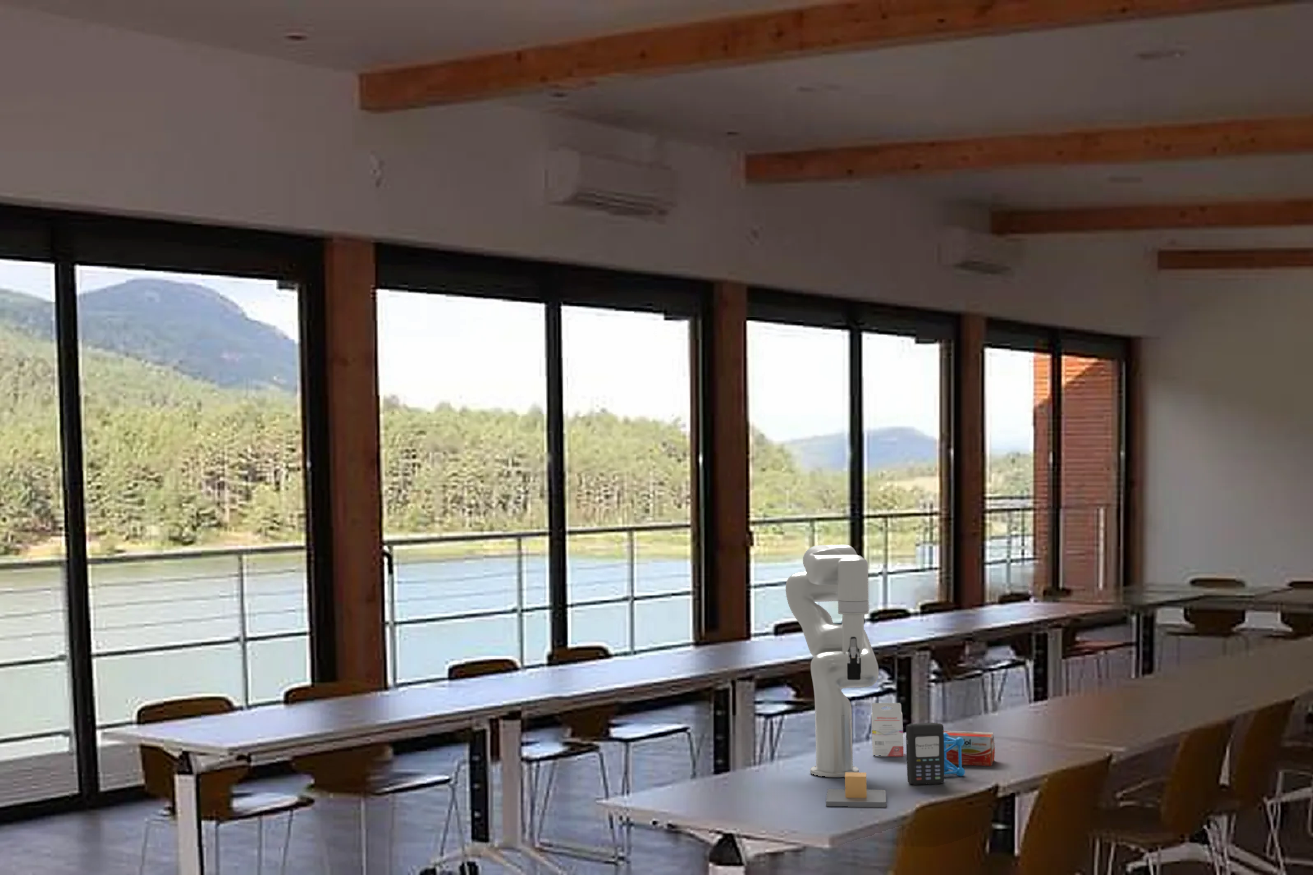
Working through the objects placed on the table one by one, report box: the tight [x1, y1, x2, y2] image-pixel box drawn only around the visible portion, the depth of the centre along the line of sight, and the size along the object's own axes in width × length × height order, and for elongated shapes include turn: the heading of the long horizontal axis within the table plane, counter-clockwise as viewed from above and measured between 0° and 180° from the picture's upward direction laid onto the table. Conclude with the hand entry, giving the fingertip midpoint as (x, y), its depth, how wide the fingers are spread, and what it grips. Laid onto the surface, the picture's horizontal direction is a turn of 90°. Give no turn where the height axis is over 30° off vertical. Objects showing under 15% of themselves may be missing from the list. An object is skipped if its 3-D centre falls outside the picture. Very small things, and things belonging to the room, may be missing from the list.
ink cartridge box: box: [870, 702, 904, 758], centre depth 425 cm, size 9×5×15 cm, turn 81°
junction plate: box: [825, 788, 887, 808], centre depth 367 cm, size 14×14×5 cm
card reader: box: [905, 722, 945, 786], centre depth 385 cm, size 9×4×15 cm, turn 99°
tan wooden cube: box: [844, 771, 868, 798], centre depth 367 cm, size 5×5×5 cm
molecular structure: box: [944, 733, 966, 777], centre depth 396 cm, size 10×10×10 cm
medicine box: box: [944, 730, 996, 767], centre depth 412 cm, size 15×8×8 cm, turn 73°
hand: (854, 676), depth 380 cm, fingers open, 9 cm apart
